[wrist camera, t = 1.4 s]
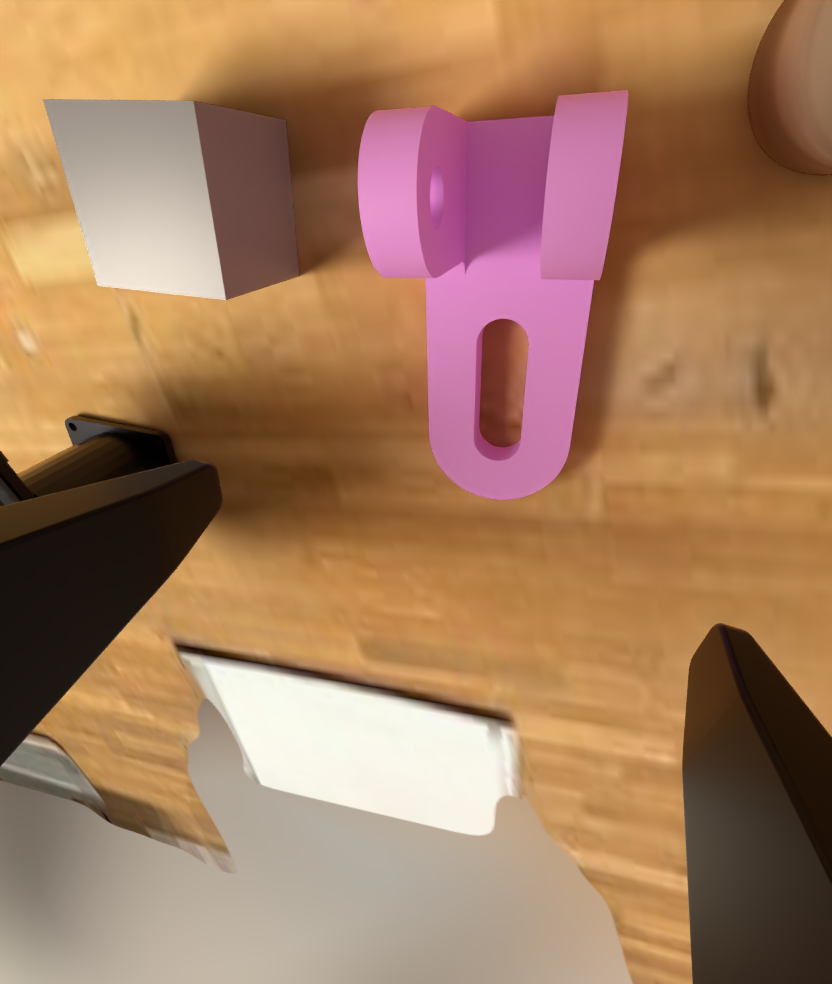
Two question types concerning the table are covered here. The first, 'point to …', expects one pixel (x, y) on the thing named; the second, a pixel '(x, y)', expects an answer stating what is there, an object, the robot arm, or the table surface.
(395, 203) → the bracket
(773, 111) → the walnut cylinder
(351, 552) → the table surface
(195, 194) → the grey cube
